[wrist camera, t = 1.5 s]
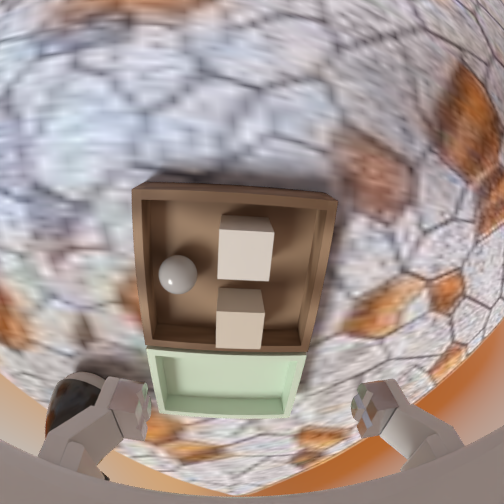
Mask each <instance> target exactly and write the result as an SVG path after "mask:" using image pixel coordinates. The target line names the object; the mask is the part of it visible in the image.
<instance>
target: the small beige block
mask: <svg viewBox="0 0 504 504" xmlns="http://www.w3.org/2000/svg"><path fill="white" fill-rule="evenodd" d="M273 241H274V230H273V228H272V225H271V223H270V221H269V218H265V217H249V216H232V215H221V221H220V228H219V248H218V275H217V279H229V280H250V281H269V276H270V267H271V259H272V250H273Z"/></svg>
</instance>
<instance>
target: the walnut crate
mask: <svg viewBox="0 0 504 504" xmlns="http://www.w3.org/2000/svg"><path fill="white" fill-rule="evenodd" d="M337 205H338V201H337V200H335V199H334V198H332V197H331V196H329V195H328V194H326V193H323V192H314V191H304V190H293V189H282V188H270V187H256V186H242V185H224V184H203V183H173V182H144V183H142V184H140V185H138V186H137V187H135V188H133V189H132V221H133V240H134V254H135V266H136V277H137V287H138V296H139V304H140V311H141V319H142V326H143V332H144V339H145V345H150V346H160V347H170V348H182V349H196V350H213V351H236V352H308V348H309V344H310V340H311V336H312V332H313V328H314V324H315V319H316V315H317V311H318V306H319V302H320V297H321V292H322V288H323V283H324V278H325V273H326V268H327V263H328V258H329V252H330V247H331V241H332V236H333V230H334V224H335V218H336V212H337ZM221 215H232V216H249V217H265V218H269V221H270V223H271V225H272V228H273V230H274V241H273V250H272V259H271V267H270V276H269V281H250V280H229V279H217V275H218V248H219V228H220V221H221ZM173 255H182V256H185V257H187V258H189V259H190V260H191V261H192V262H193V263H194V264H195V266H196V269H197V281H196V283H195V285H194V287H193V288H192V289H191V290H190V291H188V292H186V293H184V294H172V293H170V292H168V291H167V290H165V289H164V288H163V286H162V285H161V283H160V280H159V268H160V266H161V264H162V263H163V261H164V260H165V259H167V258H168V257H170V256H173ZM218 288H236V289H260V290H261V293H262V299H263V305H264V310H265V317H264V325H263V333H262V340H261V348H260V349H232V348H216V311H217V298H218Z"/></svg>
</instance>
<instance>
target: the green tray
mask: <svg viewBox="0 0 504 504" xmlns="http://www.w3.org/2000/svg"><path fill="white" fill-rule="evenodd" d="M146 351H147V356H148V362H149V367H150V372H151V377H152V382H153V387H154V391H155V396H156V400H157V405H158V409H159V413H163V414H172V415H182V416H194V417H209V418H235V419H265V418H289V416H290V413H291V410H292V407H293V403H294V400H295V396H296V393H297V389H298V386H299V382H300V379H301V375H302V371H303V368H304V364H305V360H306V356H307V355H306V352H236V351H213V350H196V349H182V348H170V347H160V346H150V345H147V348H146Z"/></svg>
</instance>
